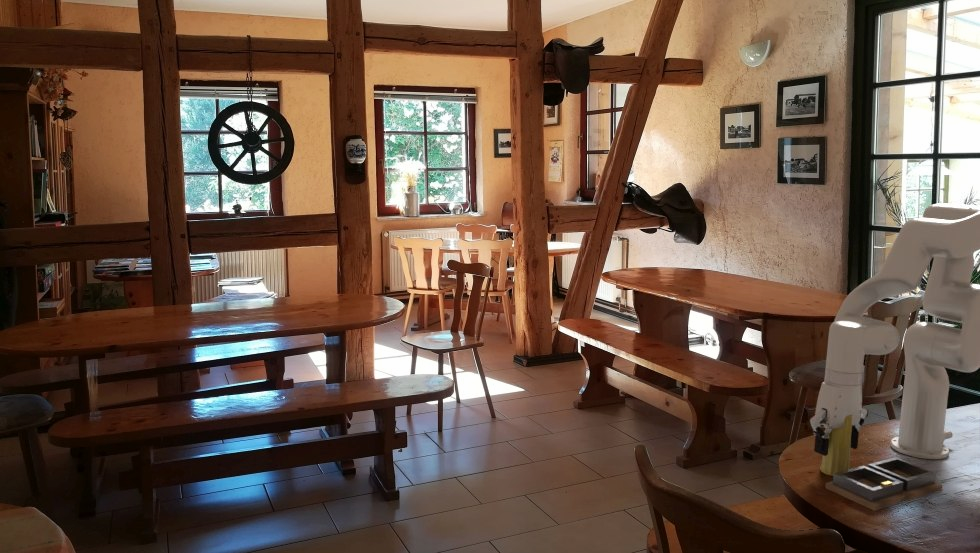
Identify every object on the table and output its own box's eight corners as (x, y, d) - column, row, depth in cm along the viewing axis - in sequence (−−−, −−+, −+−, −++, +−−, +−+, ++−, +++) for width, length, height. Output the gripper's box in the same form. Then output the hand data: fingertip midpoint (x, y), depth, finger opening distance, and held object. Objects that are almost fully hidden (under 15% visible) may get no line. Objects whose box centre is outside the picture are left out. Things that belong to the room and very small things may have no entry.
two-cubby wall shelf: (895, 467, 183) (896, 454, 183) (935, 483, 175) (936, 469, 174) (832, 484, 174) (834, 470, 173) (871, 502, 165) (873, 488, 165)
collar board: (892, 469, 185) (892, 464, 184) (941, 490, 174) (942, 485, 174) (825, 488, 174) (825, 482, 174) (874, 510, 164) (874, 505, 164)
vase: (852, 478, 179) (858, 417, 177) (823, 476, 181) (828, 415, 178) (845, 468, 185) (851, 408, 183) (817, 465, 187) (822, 406, 184)
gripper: (854, 368, 186) (847, 439, 189) (802, 376, 178) (795, 450, 181) (883, 377, 180) (875, 450, 183) (830, 386, 172) (822, 462, 175)
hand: (835, 450), depth 182 cm, fingers open, 9 cm apart
